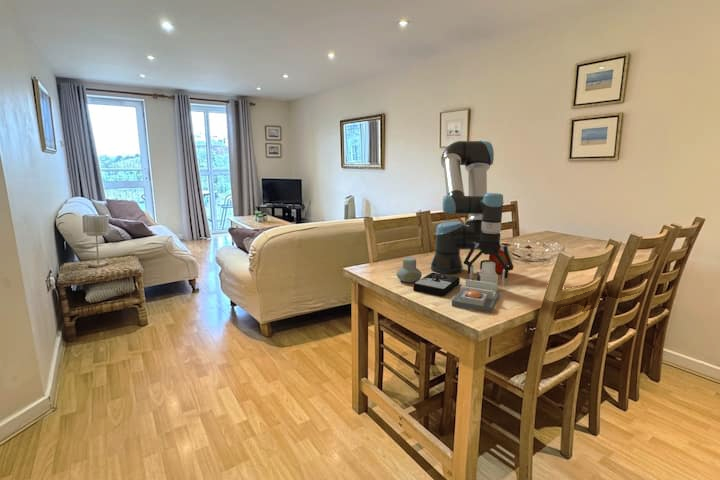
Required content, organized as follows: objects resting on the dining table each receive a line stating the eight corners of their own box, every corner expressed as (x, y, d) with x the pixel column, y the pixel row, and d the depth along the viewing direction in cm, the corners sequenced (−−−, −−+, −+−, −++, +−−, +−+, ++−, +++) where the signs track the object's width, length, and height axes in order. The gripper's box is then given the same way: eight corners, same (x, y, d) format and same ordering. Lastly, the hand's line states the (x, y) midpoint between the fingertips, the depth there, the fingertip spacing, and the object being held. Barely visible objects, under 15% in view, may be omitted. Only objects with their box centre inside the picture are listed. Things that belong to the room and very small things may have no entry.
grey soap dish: (451, 305, 137) (452, 292, 136) (463, 290, 154) (464, 278, 153) (491, 312, 131) (492, 299, 130) (499, 296, 148) (500, 284, 147)
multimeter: (459, 285, 162) (460, 274, 161) (443, 298, 146) (444, 286, 145) (431, 279, 169) (431, 269, 168) (412, 291, 153) (413, 280, 152)
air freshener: (399, 284, 161) (400, 261, 159) (394, 278, 169) (395, 257, 167) (423, 283, 163) (424, 260, 161) (417, 277, 171) (418, 256, 169)
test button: (465, 298, 136) (465, 293, 136) (468, 294, 140) (468, 289, 140) (479, 301, 134) (480, 295, 133) (482, 296, 138) (482, 291, 138)
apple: (486, 273, 177) (488, 249, 174) (488, 269, 185) (490, 245, 182) (507, 276, 173) (510, 251, 171) (509, 271, 181) (511, 247, 179)
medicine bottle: (475, 285, 160) (477, 258, 157) (493, 286, 159) (495, 259, 156) (478, 291, 153) (480, 263, 150) (496, 292, 152) (499, 263, 150)
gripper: (458, 230, 153) (455, 281, 158) (522, 236, 142) (517, 290, 147) (462, 228, 160) (459, 276, 164) (524, 233, 149) (519, 285, 153)
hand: (486, 283), depth 155 cm, fingers open, 12 cm apart
